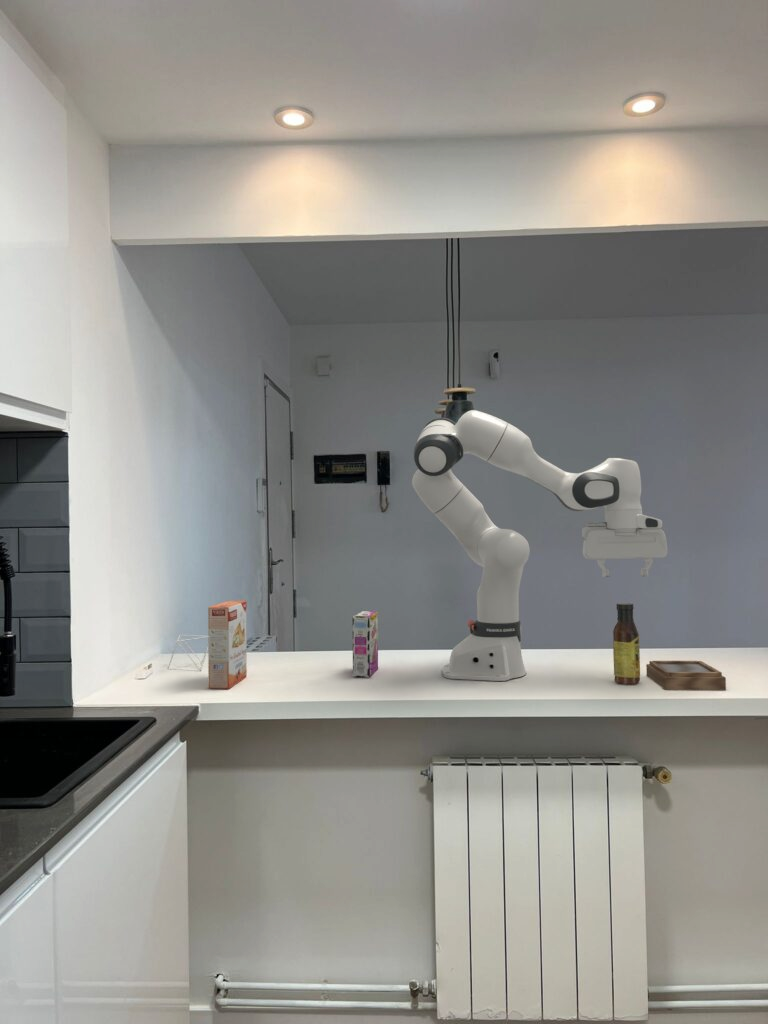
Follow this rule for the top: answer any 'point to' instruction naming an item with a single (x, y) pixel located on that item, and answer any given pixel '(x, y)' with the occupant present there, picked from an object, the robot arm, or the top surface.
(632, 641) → the sauce bottle
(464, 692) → the top surface
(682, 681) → the tray
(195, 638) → the geometric polyhedron
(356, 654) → the candy bar box
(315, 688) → the top surface
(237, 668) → the cracker box
